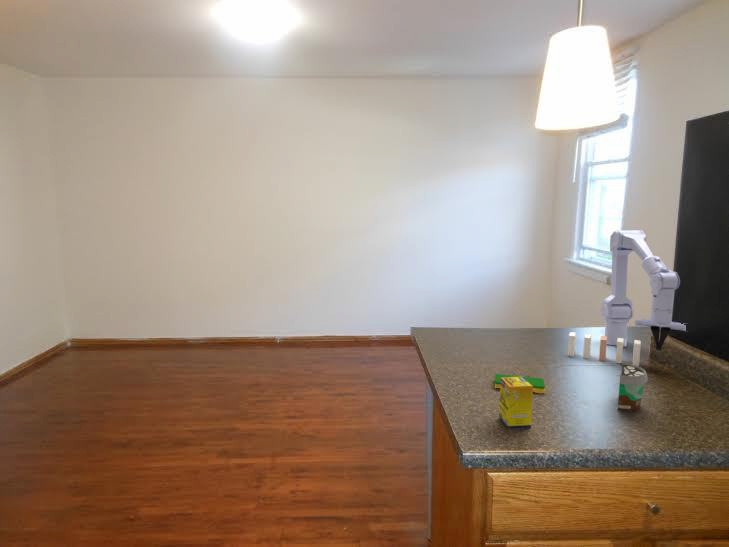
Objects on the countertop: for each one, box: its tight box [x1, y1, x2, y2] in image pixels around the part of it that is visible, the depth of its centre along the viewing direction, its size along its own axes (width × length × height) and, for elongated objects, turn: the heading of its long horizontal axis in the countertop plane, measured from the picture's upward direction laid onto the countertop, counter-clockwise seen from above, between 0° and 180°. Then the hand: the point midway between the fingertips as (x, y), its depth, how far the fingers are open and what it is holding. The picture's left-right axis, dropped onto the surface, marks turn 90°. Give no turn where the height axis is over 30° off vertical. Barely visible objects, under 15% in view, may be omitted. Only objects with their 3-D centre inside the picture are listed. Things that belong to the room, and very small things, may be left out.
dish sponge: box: [494, 373, 546, 394], centre depth 134 cm, size 7×14×2 cm, turn 73°
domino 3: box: [598, 335, 608, 362], centre depth 157 cm, size 2×5×8 cm, turn 149°
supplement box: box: [498, 376, 534, 430], centre depth 111 cm, size 6×6×11 cm
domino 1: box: [567, 331, 577, 357], centre depth 162 cm, size 2×5×8 cm, turn 149°
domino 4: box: [615, 338, 624, 364], centre depth 154 cm, size 2×5×8 cm, turn 149°
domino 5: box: [632, 339, 642, 367], centre depth 152 cm, size 2×5×8 cm, turn 149°
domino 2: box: [582, 333, 592, 360], centre depth 159 cm, size 2×5×8 cm, turn 149°
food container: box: [617, 361, 649, 412], centre depth 120 cm, size 12×6×10 cm, turn 148°
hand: (658, 349), depth 148 cm, fingers closed
